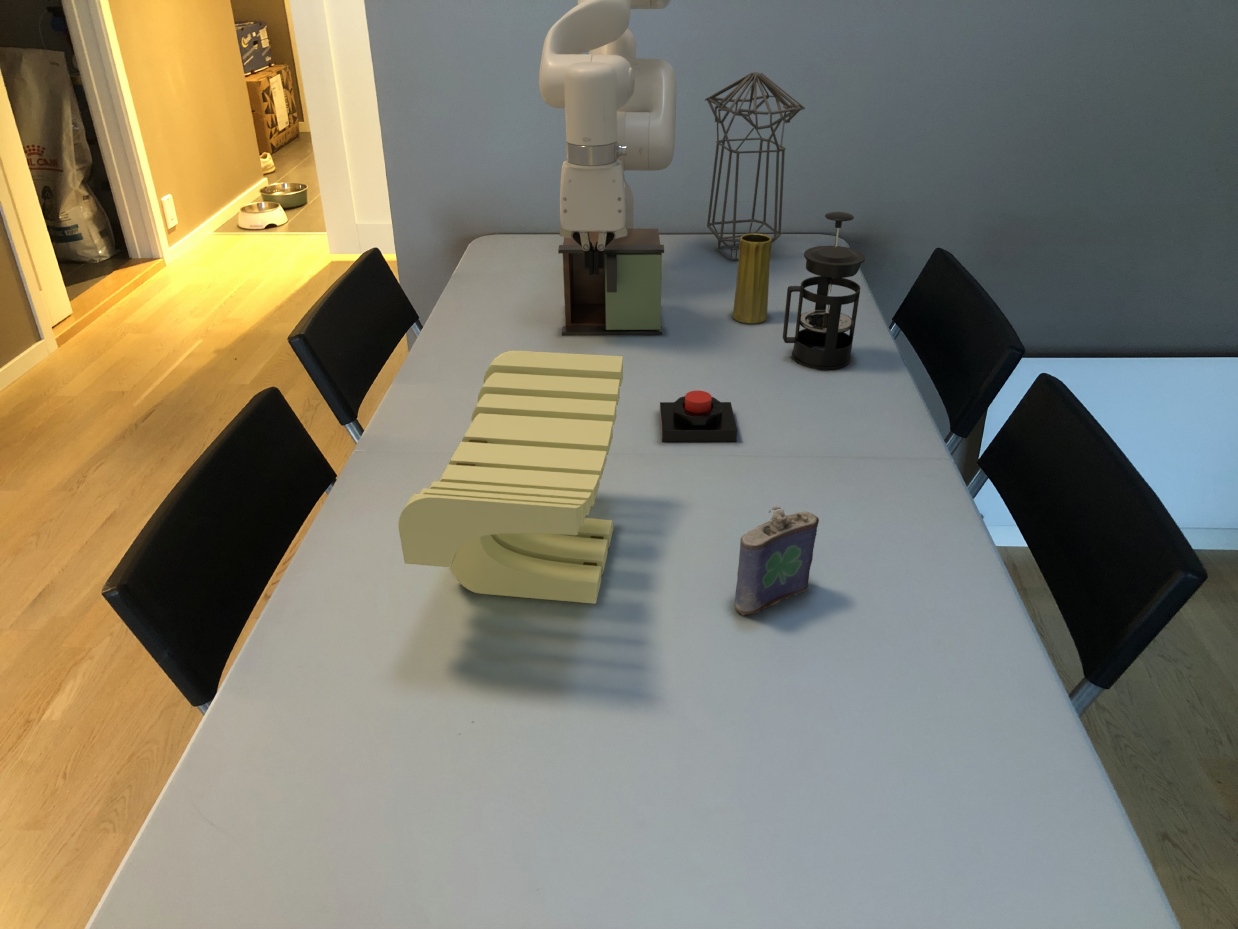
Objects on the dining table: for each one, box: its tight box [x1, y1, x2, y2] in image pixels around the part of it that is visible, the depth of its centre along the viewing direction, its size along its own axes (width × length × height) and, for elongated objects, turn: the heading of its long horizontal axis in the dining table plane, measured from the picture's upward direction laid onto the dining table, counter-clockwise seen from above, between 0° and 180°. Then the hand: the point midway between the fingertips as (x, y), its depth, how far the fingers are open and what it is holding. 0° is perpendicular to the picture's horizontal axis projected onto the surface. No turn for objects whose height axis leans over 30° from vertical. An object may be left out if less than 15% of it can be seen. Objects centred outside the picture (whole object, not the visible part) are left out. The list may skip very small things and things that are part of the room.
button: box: [684, 390, 713, 413], centre depth 117 cm, size 4×4×2 cm
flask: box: [733, 505, 820, 616], centre depth 87 cm, size 9×3×11 cm, turn 121°
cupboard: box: [557, 228, 665, 336], centre depth 148 cm, size 17×13×15 cm
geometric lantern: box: [704, 71, 806, 261], centre depth 173 cm, size 16×16×35 cm
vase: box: [731, 232, 773, 325], centre depth 149 cm, size 6×6×14 cm
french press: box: [782, 211, 866, 371], centre depth 132 cm, size 12×9×23 cm
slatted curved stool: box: [398, 350, 624, 605], centre depth 90 cm, size 30×16×18 cm, turn 172°
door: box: [605, 253, 663, 330], centre depth 141 cm, size 9×4×13 cm, turn 90°
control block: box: [659, 395, 738, 443], centre depth 118 cm, size 10×8×4 cm
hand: (594, 272), depth 139 cm, fingers closed
